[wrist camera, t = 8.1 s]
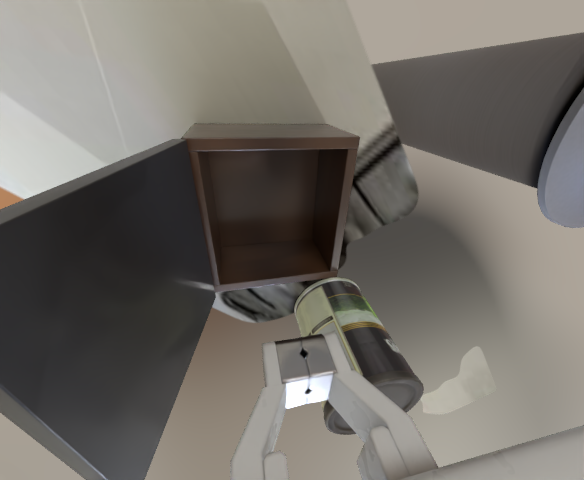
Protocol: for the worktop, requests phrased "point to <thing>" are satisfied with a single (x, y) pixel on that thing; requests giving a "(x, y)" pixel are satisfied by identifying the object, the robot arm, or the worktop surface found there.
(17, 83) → the worktop surface
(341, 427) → the coffee can
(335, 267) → the open brown box
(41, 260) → the dark grey box door
